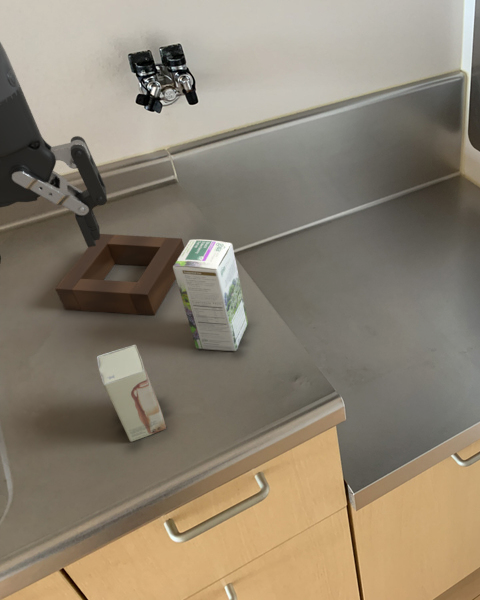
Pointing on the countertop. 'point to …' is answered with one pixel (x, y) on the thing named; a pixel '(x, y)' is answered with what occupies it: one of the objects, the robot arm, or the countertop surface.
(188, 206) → the countertop surface
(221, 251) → the syrup box
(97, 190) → the robot arm
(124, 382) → the white product box
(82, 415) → the countertop surface
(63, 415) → the countertop surface
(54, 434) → the countertop surface
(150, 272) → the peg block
